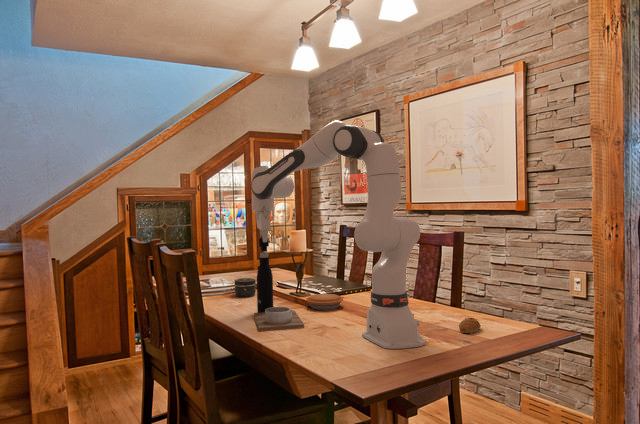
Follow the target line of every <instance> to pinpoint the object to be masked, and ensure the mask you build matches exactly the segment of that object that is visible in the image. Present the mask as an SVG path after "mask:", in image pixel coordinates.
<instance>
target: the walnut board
mask: <svg viewBox="0 0 640 424" xmlns="http://www.w3.org/2000/svg"><path fill="white" fill-rule="evenodd" d="M253 316H254V321H255V323H256V327H257V330H258V332H266V331H279V330H281V331H282V330H292V329H293V330H294V329H303V328H305V323H304V322H303V321H302V319H301V318H300V316H299V315H298V314H297V312H296V311H295V309H294V310H293V309H292V321H291V322H288V323H284V324H271V323H267V322H266V321H265V312H262V313H258V312H254V313H253Z"/></svg>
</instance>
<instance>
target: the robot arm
mask: <svg viewBox="0 0 640 424" xmlns="http://www.w3.org/2000/svg"><path fill="white" fill-rule="evenodd" d="M397 154H398V153H397V151H396V148H395V147H394V145H393V144H391V143H388V142H385V140H384V138H383V136H382V135H381V134H380V133H379V132H377V131H376V130H373V129H372V130H371V129H368V128H366V127H364V126H358V125H353V124H346V123H345V122H343V121H341V120H333V121H331V122H329V123H328V124H326V125H325V126H323V127H322V128H320V129H319V130H318V131H316V132H315V133H314V134H313V135H312V136H311V137H310V138H308V140H306V141H305V142H304V143H302V144H301V145H300V146H298V147H297V148H295V149H294V150H292V151H291V152H289V153H288V154H286V155H285V156H284V157H282V158H281V159H279V160H278V161H277V162H275V163H274V164H273V165H272V166H271V165H259V166H257V167H255V168H254V169H253V170H252V175H251V183H250V189H251V193H252V196H251V197H252V198H251V211H252V212H255V221H256V228H257V229H259V234H260V235H259V237H260V238H263V242H267V238H269V237H268V235H269V232H270V231H271V216H272V212H273V211H275V199H286V198H289V197H290V196H291V195H292V194H293V192H294V189H295V183H294V180H293V177H292V176H290V175H291V174H292V173H295V172H297V171H302V170H306V169H308V170H309V169H315V168H320V167H323V166H324V165H327V164H328V163H330V162H331V161H332V160H334V159H335V158H336V157H337V156H338V155H341V156H343V157H344V158H349V159H354V160H358V161H359V160H360V161H363V163H364V165H365V171H366V183H367V204H366V209H365V212H364V214H363V217H362V219H361V220H360V222H358V223H357V225H356V226H355V229H354V233H353V236H354V241H355V244H356V245H357V246H358V248H359V249H360V250H362V251H364V252H370V253H371V252H372V253H379V252H381V254H380V258H379V259H378V260H377V262H376V263H375V264H374V265H373V266H372V269H371V292H370V302H371V305H370V306H369V308H368V309H367V311H366V324H365V325H366V327H365V328H366V329H365V331H363V332H362V337H363V338H365V339H367V340H369V341H370V342H373V343H374V344H376V345H377V346H379V347H381V348H383V349H391V350H392V349H395V350H396V349H398V350H399V349H410V348H417V347H423V346H425V345H426V340H425V339H424V338H423V336H422V335H421V334H420V333H419V331H418V327H420V324H421V323H420V320H419V319H418V318H417V319H415V313H413V312H412V310H411V309H410V306H409V296H408V293H407V290H406V289H407V287H406V286H407V285H406V284H407V283H406V280H407V279H406V278H407V267H408V261H409V258H410V255H411V253H412V251H413V248H414V247H415V246H416V244H418V242H419V240H420V238H421V229H420V225H419V223H418V222H417V221H416V220H415V219H413V218H409V217H404V216H394V212H395V211H394V210H395V207H396V206H397V204H398V203H399V202H400V201H401V200H402V195H403V193H402V181H401V172H400V171H401V170H400V164H399V159H398V155H397Z"/></svg>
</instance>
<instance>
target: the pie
mask: <svg viewBox="0 0 640 424" xmlns="http://www.w3.org/2000/svg"><path fill="white" fill-rule="evenodd" d="M343 300H344V297H342V296H339V295H338V294H335V293H316V294H312V295H310V296H308V297H306V302H307V304H308V305H309V306H310V307H311V309H313V310H315V311H316V310H317V311H332V310H336V309H339V306H340V304H341V303H342V302H343Z"/></svg>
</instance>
